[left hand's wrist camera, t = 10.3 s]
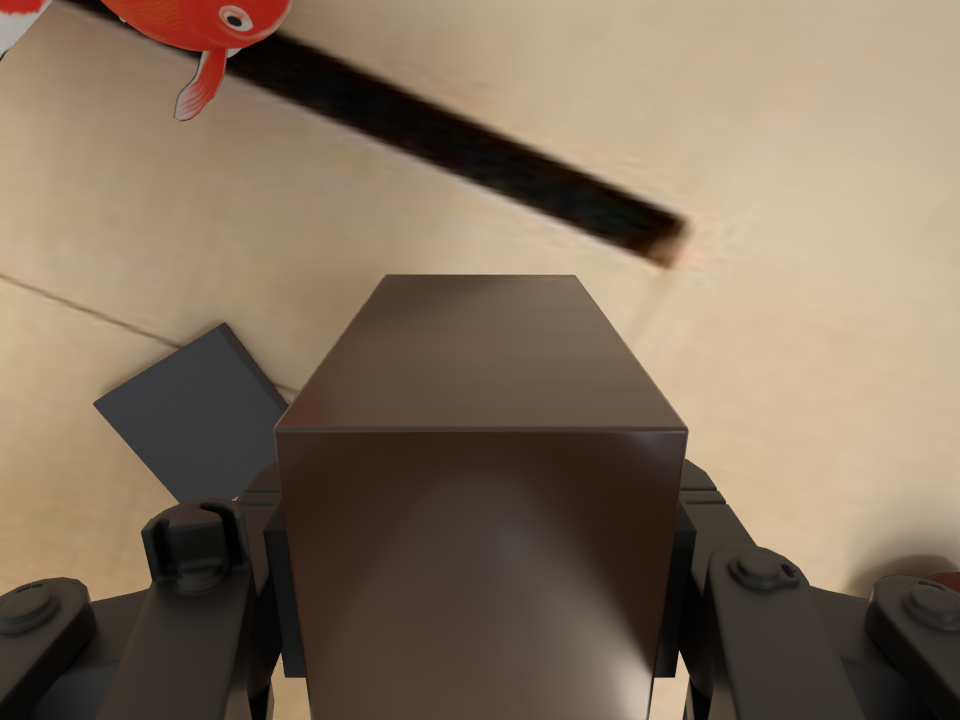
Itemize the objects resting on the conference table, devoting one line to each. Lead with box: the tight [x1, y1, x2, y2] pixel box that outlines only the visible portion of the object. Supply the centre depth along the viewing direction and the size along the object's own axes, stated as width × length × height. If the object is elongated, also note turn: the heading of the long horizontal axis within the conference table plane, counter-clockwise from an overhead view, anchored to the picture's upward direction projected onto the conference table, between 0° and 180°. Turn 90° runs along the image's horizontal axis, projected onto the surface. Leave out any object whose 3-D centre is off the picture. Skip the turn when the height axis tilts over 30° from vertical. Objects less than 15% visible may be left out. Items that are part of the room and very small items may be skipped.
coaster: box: [93, 323, 289, 504], centre depth 30 cm, size 8×8×1 cm
